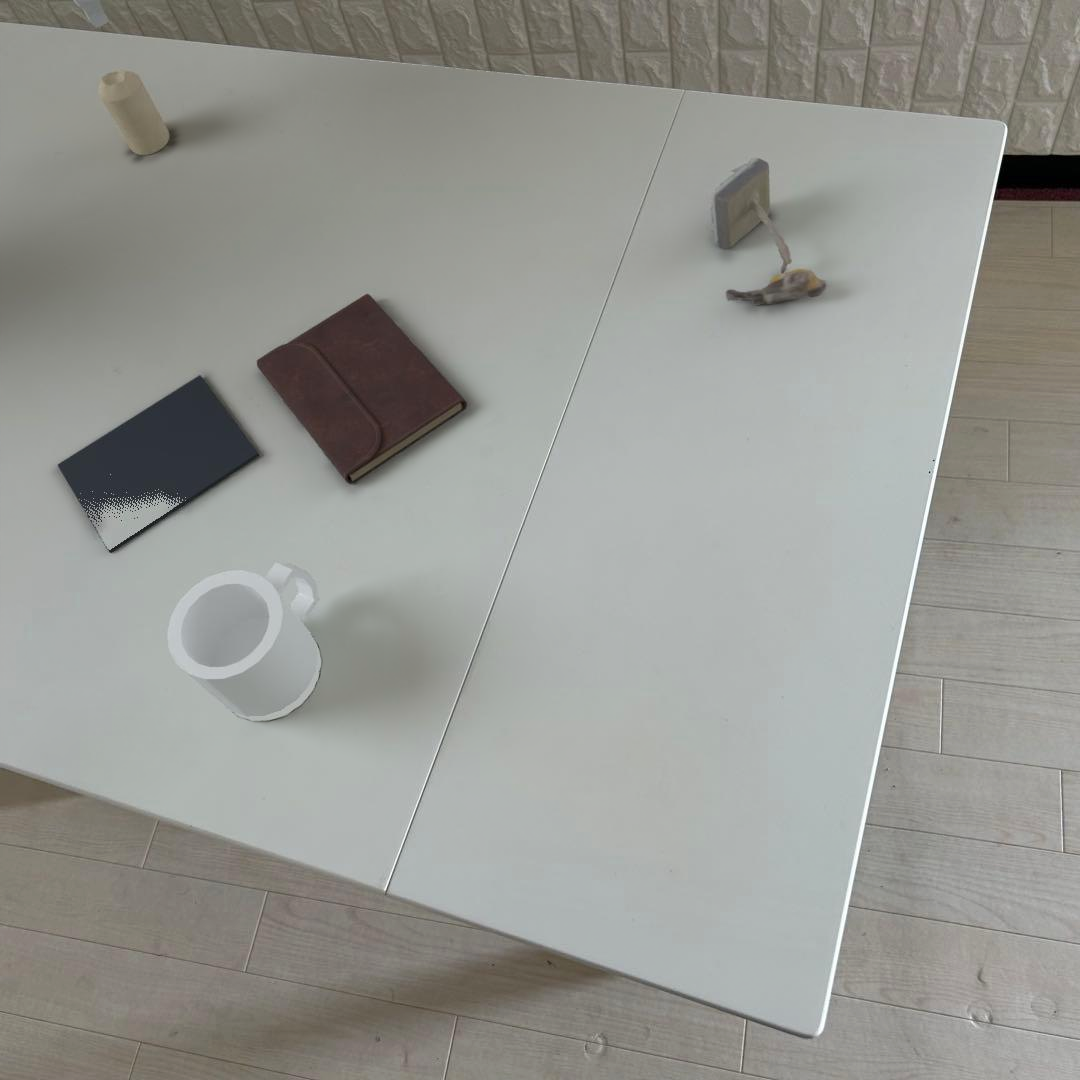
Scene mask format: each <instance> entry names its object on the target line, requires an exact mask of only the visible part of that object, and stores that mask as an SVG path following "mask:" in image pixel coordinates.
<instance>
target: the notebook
mask: <svg viewBox="0 0 1080 1080" xmlns="http://www.w3.org/2000/svg"><path fill="white" fill-rule="evenodd" d="M256 366H257V368H258V370H259V371H260V372H261V373H262V375H263V376H264V377H265V379H266V380H267V381H268V383H269V384H270V385H271V387H272V388H273V389H274V390H275V392H276V393H277V394H278V395H279V397H280V398H281V399H282V401H283V402H284V403H285V405H286V406H287V407H288V409H289V410H290V411H291V412H292V413H293V415H294V416H295V418H296V419H297V420H298V421H299V423H300V424H301V425H302V426H303V428H304V429H305V430H306V432H307V433H308V434H309V435H310V437H311V438H312V439H313V441H314V442H315V443H316V445H317V446H318V447H319V448H320V450H321V451H322V452H323V454H324V455H325V457H327V459H328V460H329V461H330V463H331V465H333V467H334V468H335V469H336V470H337V472H338V473H339V475H340V476H341V477H342V478H343V479H344V481H345V482H346V483H347V484H349V485H353V484H354V483H356V482H358V481H359V480H360V479H362V478H364V477H366V476H367V475H368V474H370V473H371V472H372V471H375V470H376V469H377V468H379V467H380V466H382V465H384V464H385V463H386V462H389V461H390V460H391V459H392V458H394V457H395V456H396V455H399V453H402V452H403V451H404V450H406V449H407V448H409V447H410V446H412V445H413V444H415V443H416V442H418V441H420V440H421V439H422V438H424V437H425V436H428V434H430V433H431V432H433V431H434V430H436V429H438V428H439V427H441V426H443V425H444V424H446V423H447V422H448V421H450V420H451V419H453V418H454V417H456V416H457V415H459V414H460V413H461V412H463V411H465V410H466V409H467V406H468V402H467V400H466V399H464V397H463V396H462V395H461V394H460V392H458V390H456V388H455V387H454V386H453V385H452V384H451V383H450V382H449V380H447V379H446V377H445V376H444V375H443V374H442V373H441V372H440V370H438V369H437V367H436V366H435V365H434V364H433V363H432V362H431V361H430V360H429V358H428V357H426V355H425V354H424V353H423V352H422V351H421V349H419V347H418V346H417V345H416V344H415V343H414V342H413V340H411V339H410V338H409V336H408V335H407V334H406V333H405V332H404V331H403V330H402V329H401V328H400V327H399V325H398V324H397V323H396V322H395V321H394V320H393V319H392V317H390V315H389V314H388V313H387V312H386V311H385V310H384V309H383V308H382V307H381V305H380V304H378V302H377V301H376V300H375V299H374V298H373V297H372V295H370V294H369V293H365V294H364V295H362V296H360V297H359V298H357V299H356V300H354V301H353V302H351V303H350V304H348V305H346V306H344V307H343V308H341V309H339V310H338V311H336V312H334V313H333V314H332V315H330V316H328V317H327V318H325V319H324V320H322V321H321V322H319V323H317V324H316V325H313V326H312V327H310V328H309V329H307V330H306V331H305V332H303V333H301V334H300V335H298V336H296V337H295V338H293V339H291V340H289V341H288V342H287V343H284V344H281V345H279V346H277V347H275V348H274V349H272V350H270V351H268V352H267V353H266V354H264V355H262V356H261V357H259V358H258V359H256Z"/></svg>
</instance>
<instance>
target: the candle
mask: <svg viewBox="0 0 1080 1080" xmlns="http://www.w3.org/2000/svg"><path fill="white" fill-rule="evenodd" d="M97 95H98V96H99V98H100V99H101V101H102V103H103V104H104V107H105V108H106V110H107V111H108V113H109V115H110V117H111V119H112V120H113V122H114V124H115V125H116V127H117V129H118V130H119V132H120V133H121V135H122V137H123V139H124V140H125V142H126V144H127V146H128V147H129V149H130V150H131V151H132V152H133V153H134V154H136V155H140V156H147V155H151V154H154V153H157V152H158V151H160V150H162V149H163V148H165V146H166V145H167V144H168V142H169V140H170V137H171V136H170V132H169V129H168V127H167V126H166V123H165V122H164V120H163V118H162V116H161V115H160V113H159V111H158V109H157V107H156V105H155V103H154V101H153V99H152V97H151V95H150V94H149V92H148V91H147V88H146V86H145V84H144V83H143V81H142V78H141V77H140V76H139V75H138V74H137V73H136V72H134V71H130V70H124V69H120V70H117V71H112V72H108V73H106V74H105V75H102V77H101V81H100V83H99V87H98V90H97Z"/></svg>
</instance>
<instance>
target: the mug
mask: <svg viewBox="0 0 1080 1080" xmlns="http://www.w3.org/2000/svg"><path fill="white" fill-rule="evenodd" d="M292 579H293V580H294V582H295V585H296V589H297V590H296V591H297V594H296V595H295V597H294V598H293V599H292V601H291V602H290V605H289V604H288V603H287V602H286V600H285V599H284V598H283V596H282V593H283V592H284V590H285V589H286V587H287V586H288V585H289V583H290V581H292ZM319 600H320V596H319V591H318V585H317V581H316V580H315V579H314V578H313V577H312V575H311V574H310V573H309V572H308V570H306V569H304V568H301V567H299V566H297V565H294V564H292V563H288V562H279V561H275V562H274V564H273V565H272V566H271V568H270V570H269V571H268V572H267V573H266V575H265V577H263V576H262V575H260V574H258V573H254V572H251V571H248V570H244V569H243V570H242V569H241V570H225V571H222V572H219V573H216V574H213V575H209V576H207V577H205V578H204V579H202V580H201V581H199V582H198V583H196V584H195V585H193V586H192V587H191V588H190V589H189V590H188V591H187V592H186V593H185V594H184V595H183V596H182V597H181V598H180V600H179V601H178V602H177V604H176V606H175V607H174V610H173V612H172V613H171V615H170V616H169V617H170V618H169V623H168V628H167V632H166V637H167V646H168V652H169V653H170V656H171V657H172V659H173V660H174V663H175V664H176V665H177V666H178V667H179V668H180V669H181V670H182V671H183V672H184V673H186V674H187V675H188V676H189V677H190V678H192V679H193V680H194V681H195V682H196V683H197V684H198V685H199V686H201V687H202V688H203V689H204V690H205V691H207V692H208V693H209V694H210V695H211V696H212V697H214V699H216V700H217V701H218V702H219V703H220V702H221V703H220V704H221V705H223V706H224V707H225V708H226V707H227V708H228V709H227V708H226V709H227V710H229V712H231V711H232V712H234V713H238V714H241V715H244V716H247V717H249V716H265V715H268V714H271V713H274V712H277V711H281V710H282V709H284V708H285V707H286V706H288V705H290V704H291V703H293V702H294V701H296V700H297V699H298V698H299V697H300V695H301V694H302V693H303V692H304V691H305V690H306V689H307V687H308V686H309V684H310V682H311V680H312V678H313V676H314V674H315V672H316V666H317V660H318V652H317V647H316V642H317V641H316V642H315V640H316V639H315V637H314V636H313V634H312V633H311V631H310V630H309V629H308V628H307V626H306V625H305V624H304V623H305V622H306V620H307V619H308V618H309V616H310V614H311V613H312V612H313V610H314V609H315V607H316V605H317V604H318V602H319ZM309 631H310V632H309ZM311 634H312V635H311ZM312 636H313V637H314V638H313V637H312ZM314 639H315V640H314ZM232 712H231V713H232ZM234 713H233V714H234Z"/></svg>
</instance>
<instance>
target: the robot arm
mask: <svg viewBox="0 0 1080 1080" xmlns="http://www.w3.org/2000/svg"><path fill="white" fill-rule="evenodd" d="M72 1H73V2H74V3H75V5H76V6H77V7H78V8H79V9H82V11H83V13H84V14H85V16H86V18H87V20H88V21H89V23H90V24H91V26H93V28H96V29H99V28H101V27H102V26H105V25H106V24H107V23H108V21H109V20H108V17H107V14H106V13H105V11H104V10H103V7H102V4H101V3H102V2H101V0H72Z"/></svg>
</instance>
